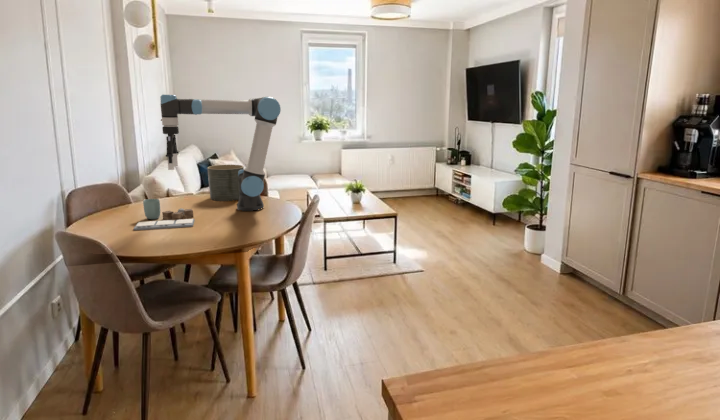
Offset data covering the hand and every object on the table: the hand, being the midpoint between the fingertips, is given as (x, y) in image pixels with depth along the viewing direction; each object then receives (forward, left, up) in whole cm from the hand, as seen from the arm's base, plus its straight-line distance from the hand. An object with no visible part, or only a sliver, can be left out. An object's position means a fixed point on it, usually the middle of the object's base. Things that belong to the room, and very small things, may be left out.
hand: (173, 167), depth 234 cm
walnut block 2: (0, +2, -28) cm, 28 cm away
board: (+5, +11, -27) cm, 30 cm away
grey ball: (-1, -8, -28) cm, 29 cm away
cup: (+13, -5, -28) cm, 31 cm away
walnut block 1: (+5, -2, -28) cm, 28 cm away
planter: (-25, -50, -28) cm, 62 cm away
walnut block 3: (-5, -4, -28) cm, 28 cm away
